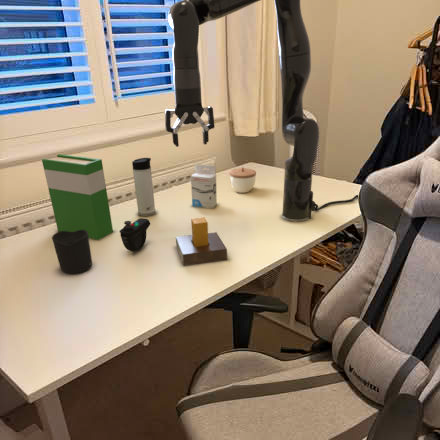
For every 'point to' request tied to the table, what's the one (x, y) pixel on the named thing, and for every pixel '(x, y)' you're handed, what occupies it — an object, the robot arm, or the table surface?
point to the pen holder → (73, 251)
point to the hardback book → (78, 195)
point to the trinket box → (242, 179)
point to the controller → (134, 234)
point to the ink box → (204, 186)
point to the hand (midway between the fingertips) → (191, 145)
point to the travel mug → (143, 186)
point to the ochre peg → (199, 232)
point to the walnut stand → (201, 250)
